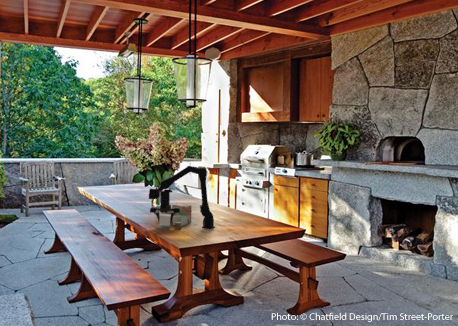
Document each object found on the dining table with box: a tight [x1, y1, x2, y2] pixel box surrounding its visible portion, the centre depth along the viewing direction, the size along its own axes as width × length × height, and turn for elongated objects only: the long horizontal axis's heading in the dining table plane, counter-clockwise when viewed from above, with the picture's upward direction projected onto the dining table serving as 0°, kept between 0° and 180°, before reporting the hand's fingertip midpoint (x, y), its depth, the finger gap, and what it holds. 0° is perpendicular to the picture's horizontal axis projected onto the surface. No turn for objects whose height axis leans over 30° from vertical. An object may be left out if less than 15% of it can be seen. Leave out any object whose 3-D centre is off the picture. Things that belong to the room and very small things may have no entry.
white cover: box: [158, 213, 172, 226], centre depth 271 cm, size 7×7×6 cm
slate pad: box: [154, 225, 175, 231], centre depth 272 cm, size 9×9×1 cm
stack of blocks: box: [161, 203, 193, 224], centre depth 291 cm, size 21×6×12 cm, turn 61°
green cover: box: [172, 214, 188, 227], centre depth 281 cm, size 7×7×6 cm
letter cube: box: [174, 222, 182, 230], centre depth 270 cm, size 4×4×4 cm
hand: (165, 222), depth 271 cm, fingers closed on white cover, 7 cm apart
